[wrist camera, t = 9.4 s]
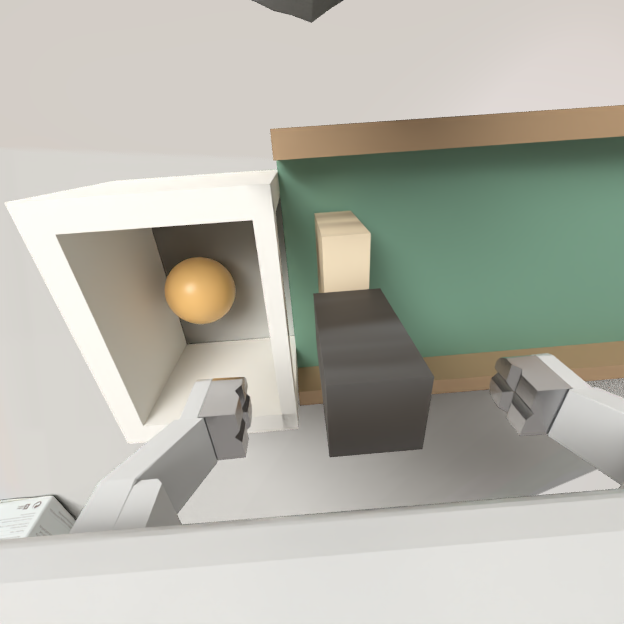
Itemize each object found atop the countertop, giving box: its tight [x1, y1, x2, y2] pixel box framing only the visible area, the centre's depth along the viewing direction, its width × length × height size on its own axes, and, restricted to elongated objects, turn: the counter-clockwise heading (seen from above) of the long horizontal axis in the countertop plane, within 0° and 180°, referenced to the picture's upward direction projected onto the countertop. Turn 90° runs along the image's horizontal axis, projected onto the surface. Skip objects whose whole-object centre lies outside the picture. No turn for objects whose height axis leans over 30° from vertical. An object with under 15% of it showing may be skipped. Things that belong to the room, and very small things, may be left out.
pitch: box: [4, 105, 624, 444], centre depth 17 cm, size 16×36×8 cm, turn 94°
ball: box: [165, 257, 235, 324], centre depth 19 cm, size 4×4×4 cm
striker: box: [313, 211, 434, 457], centre depth 14 cm, size 8×3×11 cm, turn 4°
